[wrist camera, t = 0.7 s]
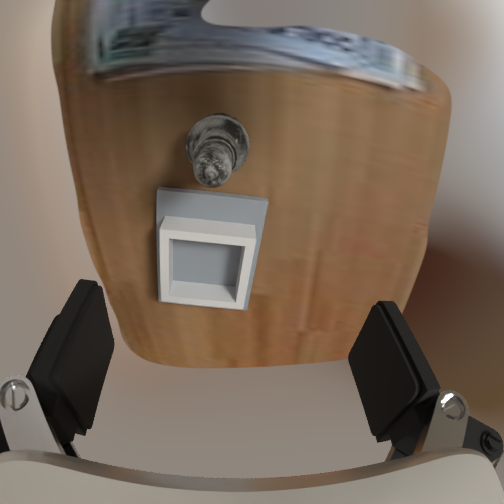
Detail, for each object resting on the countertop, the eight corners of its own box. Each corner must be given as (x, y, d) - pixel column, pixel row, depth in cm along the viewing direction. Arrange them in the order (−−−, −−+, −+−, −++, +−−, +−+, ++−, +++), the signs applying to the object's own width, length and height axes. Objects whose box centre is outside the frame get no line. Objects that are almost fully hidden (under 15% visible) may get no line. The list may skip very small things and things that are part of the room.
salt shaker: (188, 162, 31) (165, 213, 21) (193, 108, 28) (168, 130, 18) (244, 167, 32) (248, 221, 22) (252, 113, 28) (261, 139, 18)
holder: (158, 186, 32) (150, 201, 29) (267, 198, 34) (271, 214, 30) (159, 296, 41) (154, 317, 37) (246, 305, 42) (247, 326, 39)
